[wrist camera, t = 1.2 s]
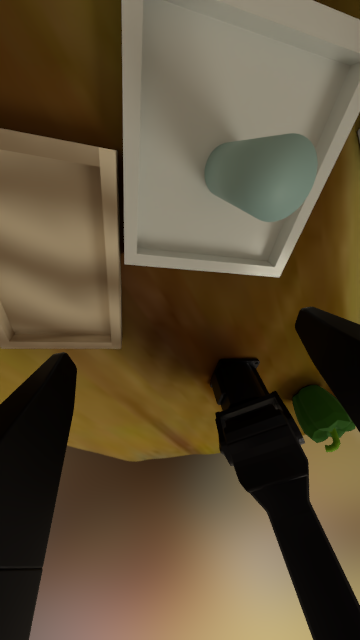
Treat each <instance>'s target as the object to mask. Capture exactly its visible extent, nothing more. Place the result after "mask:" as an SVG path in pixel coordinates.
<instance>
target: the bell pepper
mask: <svg viewBox="0 0 360 640" xmlns="http://www.w3.org/2000/svg"><path fill="white" fill-rule="evenodd" d="M293 406H294V410H295V414H296V416H297V419H298V422H299V424H300V426H301V428H302V430H303V431H304V433H305V434H306V435H308V436H309V437H310V438H311V439H312V440H314V441H315V442H316V443H318V442H322V441H324V440H326V439H327V438H328V437H332V438H333V443H332V444H331V445H329V446H328V445H325V448H326V452H333V451H335V450H337V449H338V448H339V445H340V440H339V438H340V437H341V436H342V435H343V434H344V433H345V431H351V430H353V429H355V424H354V423H353V421H352V420H351V418H350V417H349V416H348V414H347V413H346V411H345V410H344V408H343V407H342V405H341V404H340V402H339V401H338V400H337V399H336V398H335V397H334V396H333V395H331V394H330V393H329V392H328V391H326V390H325V389H323V388H321V387H320V386H318V385H310V386H307V387H305V388H302V389H301V390H300V391H299V393H298V394H297V395H295V396H294V397H293Z"/></svg>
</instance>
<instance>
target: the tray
mask: <svg viewBox="0 0 360 640" xmlns="http://www.w3.org/2000/svg"><path fill="white" fill-rule="evenodd" d="M121 345H122V307H121V264H120V221H119V178H118V151H116V150H111V149H106V148H101V147H96V146H90V145H85V144H80V143H75V142H70V141H64V140H59V139H54V138H49V137H43V136H38V135H33V134H28V133H23V132H17V131H12V130H7V129H2V128H0V347H1V349H121Z"/></svg>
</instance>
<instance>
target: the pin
mask: <svg viewBox="0 0 360 640" xmlns="http://www.w3.org/2000/svg"><path fill="white" fill-rule="evenodd" d="M317 166H318V161H317V154H316V150H315V148H314V146H313V144H312V143H311V141H310V140H309V139H308V138H306V137H305V136H303V135H300V134H296V133H289V134H282V135H275V136H268V137H261V138H254V139H248V140H241V141H234V142H227V143H223V144H221V145H219V146H218V147H216V148H215V149H214V150H213V151H212V153H211V154H210V156H209V157H208V160H207V162H206V166H205V174H204V175H205V182H206V185H207V187H208V189H209V190H210V192H211V193H213V194H214V195H215V196H217V197H219V198H221V199H223V200H224V201H226V202H228V203H230V204H232V205H233V206H235V207H237V208H239V209H241V210H242V211H244V212H246V213H248V214H250V215H251V216H253V217H255V218H257V219H259V220H261V221H264V222H275V221H279V220H282V219H284V218H286V217H288V216H289V215H291V214H292V213H293V212H295V211H296V210H297V209H298V208H299V207H300V206H301V205H302V203H303V202H304V201H305V199H306V198H307V196H308V195H309V193H310V191H311V189H312V187H313V184H314V181H315V178H316V174H317Z"/></svg>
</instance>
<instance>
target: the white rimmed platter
mask: <svg viewBox="0 0 360 640" xmlns="http://www.w3.org/2000/svg"><path fill="white" fill-rule="evenodd" d="M122 87H123V177H124V264H128V265H139V266H151V267H163V268H175V269H187V270H199V271H211V272H222V273H234V274H246V275H258V276H270V277H280V275H281V273H282V271H283V269H284V267H285V265H286V263H287V261H288V259H289V257H290V254H291V252H292V250H293V248H294V246H295V244H296V242H297V240H298V238H299V236H300V234H301V232H302V230H303V228H304V226H305V224H306V222H307V219H308V217H309V215H310V213H311V211H312V209H313V207H314V205H315V203H316V201H317V199H318V197H319V195H320V193H321V191H322V189H323V187H324V184H325V182H326V180H327V178H328V176H329V174H330V172H331V170H332V168H333V166H334V164H335V162H336V160H337V158H338V156H339V154H340V152H341V149H342V147H343V145H344V143H345V141H346V139H347V137H348V135H349V133H350V131H351V129H352V127H353V125H354V123H355V121H356V119H357V116H358V114H359V112H360V20H359V19H357V18H354V17H352V16H350V15H347V14H345V13H342V12H340V11H337V10H335V9H333V8H330V7H328V6H325V5H323V4H321V3H318V2H316V1H313V0H122ZM289 133H296V134H300V135H303V136H305V137H306V138H308V139H309V140H310V141H311V143H312V144H313V146H314V148H315V150H316V154H317V161H318V166H317V174H316V178H315V181H314V184H313V187H312V189H311V191H310V193H309V195H308V196H307V198H306V199H305V201H304V202H303V203H302V205H301V206H300V207H299V208H298V209H297V210H296V211H295V212H293V213H292V214H291V215H289V216H288V217H286V218H284V219H282V220H279V221H275V222H264V221H261V220H259V219H257V218H255V217H253V216H251V215H250V214H248V213H246V212H244V211H242V210H241V209H239V208H237V207H235V206H233V205H232V204H230V203H228V202H226V201H224V200H223V199H221V198H219V197H217V196H215V195H214V194H213V193H211V192H210V190H209V189H208V187H207V185H206V182H205V175H204V174H205V166H206V162H207V160H208V157H209V156H210V154H211V153H212V151H213V150H214V149H215V148H216V147H218V146H219V145H221V144H223V143H227V142H234V141H241V140H248V139H254V138H261V137H268V136H275V135H282V134H289Z"/></svg>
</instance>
